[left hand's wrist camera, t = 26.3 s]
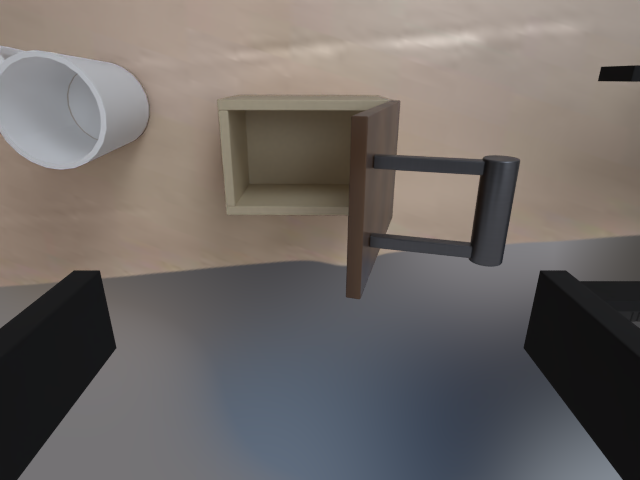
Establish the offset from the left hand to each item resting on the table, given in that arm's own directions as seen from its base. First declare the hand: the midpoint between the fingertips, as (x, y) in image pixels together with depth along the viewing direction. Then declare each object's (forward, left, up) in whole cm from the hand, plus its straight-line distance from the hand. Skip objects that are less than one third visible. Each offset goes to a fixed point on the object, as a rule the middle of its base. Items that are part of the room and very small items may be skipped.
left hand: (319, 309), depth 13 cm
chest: (-1, 0, -33) cm, 33 cm away
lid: (+3, +1, -17) cm, 17 cm away
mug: (-22, 0, -33) cm, 40 cm away
